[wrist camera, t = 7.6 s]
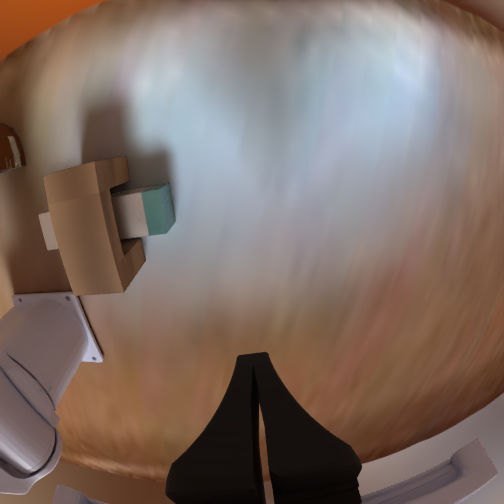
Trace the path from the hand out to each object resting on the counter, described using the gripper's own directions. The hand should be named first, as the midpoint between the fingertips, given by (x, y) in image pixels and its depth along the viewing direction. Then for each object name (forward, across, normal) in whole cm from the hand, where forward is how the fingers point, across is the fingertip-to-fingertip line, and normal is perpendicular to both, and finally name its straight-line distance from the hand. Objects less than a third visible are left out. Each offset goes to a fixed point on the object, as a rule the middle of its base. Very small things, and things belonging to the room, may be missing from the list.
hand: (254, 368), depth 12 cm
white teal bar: (+10, +10, -6) cm, 15 cm away
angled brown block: (+10, +9, -6) cm, 15 cm away
